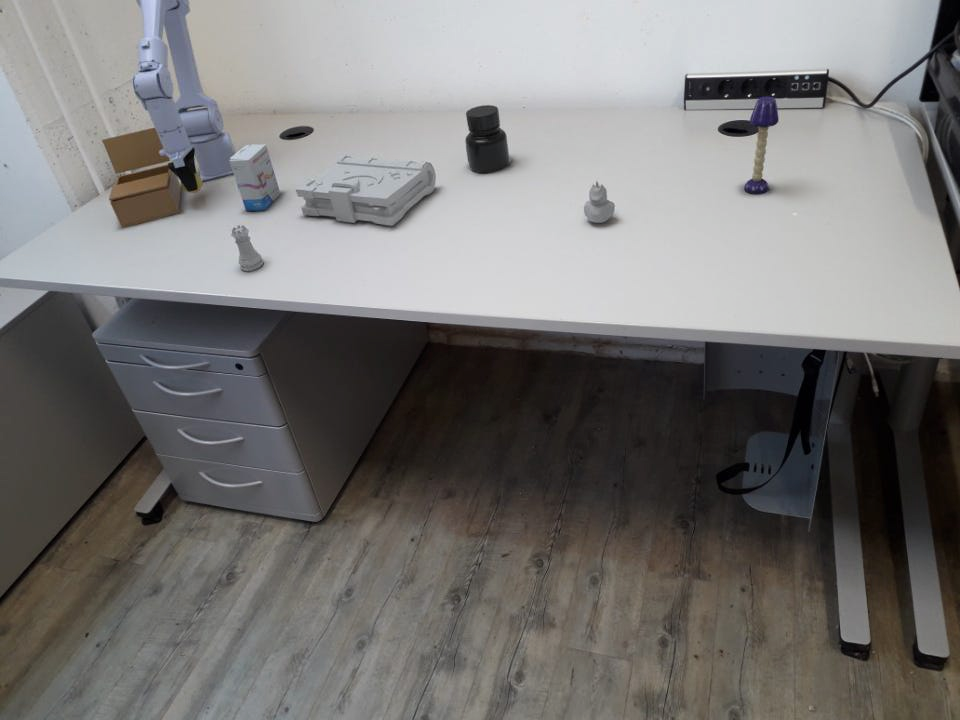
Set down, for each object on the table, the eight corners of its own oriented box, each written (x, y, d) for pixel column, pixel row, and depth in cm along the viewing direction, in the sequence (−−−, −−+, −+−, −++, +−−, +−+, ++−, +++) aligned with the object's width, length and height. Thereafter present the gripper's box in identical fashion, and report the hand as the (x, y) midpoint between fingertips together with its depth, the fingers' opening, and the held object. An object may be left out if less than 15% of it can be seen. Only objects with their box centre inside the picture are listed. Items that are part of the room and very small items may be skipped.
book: (336, 177, 171) (328, 145, 167) (441, 187, 158) (435, 152, 154) (282, 216, 158) (271, 182, 154) (391, 230, 146) (383, 194, 141)
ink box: (266, 211, 162) (248, 158, 155) (245, 211, 163) (226, 160, 156) (282, 193, 168) (265, 142, 161) (262, 194, 170) (244, 143, 162)
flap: (115, 173, 174) (116, 173, 175) (170, 160, 176) (170, 160, 176) (101, 139, 171) (102, 139, 171) (157, 126, 173) (157, 126, 173)
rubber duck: (581, 227, 136) (578, 186, 131) (589, 210, 141) (587, 170, 136) (610, 228, 134) (609, 186, 129) (618, 211, 139) (617, 170, 134)
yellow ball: (205, 185, 173) (198, 167, 170) (205, 193, 170) (198, 174, 167) (185, 190, 173) (177, 172, 170) (185, 198, 169) (177, 179, 166)
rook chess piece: (242, 262, 144) (228, 224, 139) (265, 258, 144) (252, 220, 139) (238, 273, 140) (224, 235, 136) (262, 269, 140) (248, 231, 136)
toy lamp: (773, 184, 138) (782, 94, 128) (769, 196, 135) (778, 104, 125) (746, 183, 140) (752, 94, 130) (741, 194, 137) (748, 103, 127)
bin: (127, 200, 178) (115, 173, 174) (181, 187, 180) (170, 160, 176) (121, 227, 166) (108, 199, 162) (179, 213, 168) (167, 184, 164)
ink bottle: (500, 153, 169) (493, 99, 162) (518, 164, 162) (512, 109, 155) (461, 165, 166) (452, 112, 159) (478, 178, 160) (469, 122, 152)
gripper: (152, 122, 167) (176, 179, 175) (149, 143, 156) (174, 203, 164) (184, 114, 168) (206, 171, 176) (183, 135, 157) (206, 194, 165)
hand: (193, 186), depth 170 cm, fingers closed on yellow ball, 4 cm apart
